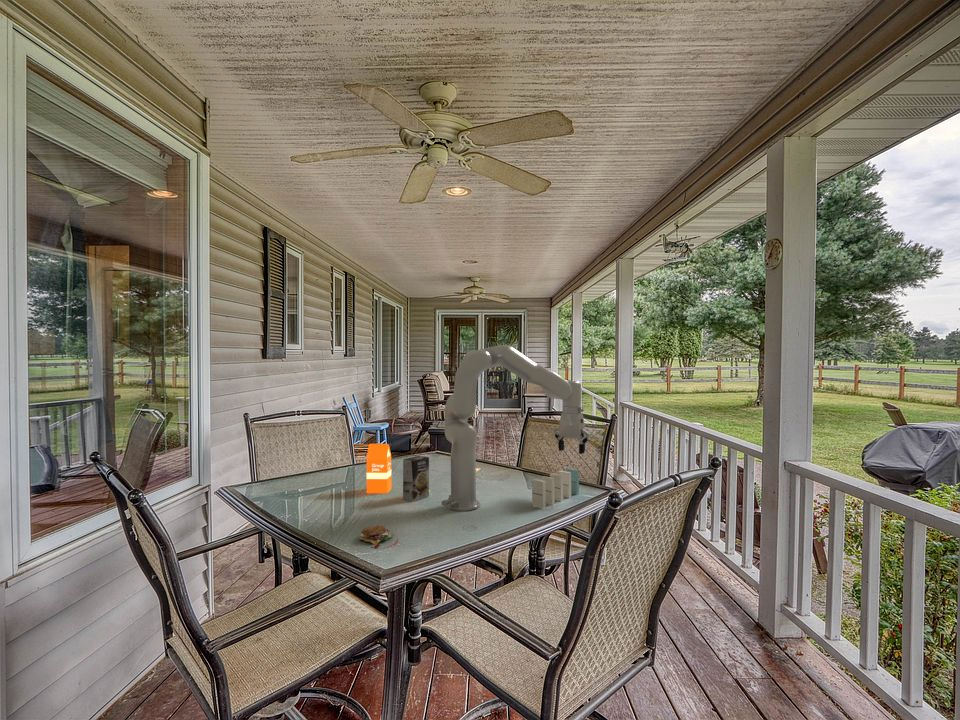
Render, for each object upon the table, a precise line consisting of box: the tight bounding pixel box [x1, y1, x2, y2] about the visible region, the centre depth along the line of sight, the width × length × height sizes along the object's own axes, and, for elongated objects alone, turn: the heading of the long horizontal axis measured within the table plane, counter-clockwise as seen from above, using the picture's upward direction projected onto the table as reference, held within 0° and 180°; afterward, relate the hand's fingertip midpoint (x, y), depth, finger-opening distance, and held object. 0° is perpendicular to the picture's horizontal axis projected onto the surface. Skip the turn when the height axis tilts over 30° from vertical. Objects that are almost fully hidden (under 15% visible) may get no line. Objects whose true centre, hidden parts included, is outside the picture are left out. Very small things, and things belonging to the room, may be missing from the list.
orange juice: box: [366, 443, 392, 494], centre depth 193 cm, size 8×9×20 cm
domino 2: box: [540, 475, 556, 506], centre depth 173 cm, size 2×5×10 cm, turn 47°
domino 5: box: [565, 467, 580, 496], centre depth 187 cm, size 2×5×10 cm, turn 46°
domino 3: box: [549, 472, 564, 502], centre depth 178 cm, size 2×5×10 cm, turn 47°
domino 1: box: [531, 478, 547, 510], centre depth 169 cm, size 2×5×10 cm, turn 47°
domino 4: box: [558, 470, 572, 499], centre depth 182 cm, size 2×5×10 cm, turn 47°
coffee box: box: [402, 455, 430, 502], centre depth 182 cm, size 9×6×16 cm
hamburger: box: [359, 524, 399, 550], centre depth 137 cm, size 14×14×6 cm
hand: (571, 451), depth 187 cm, fingers open, 9 cm apart
